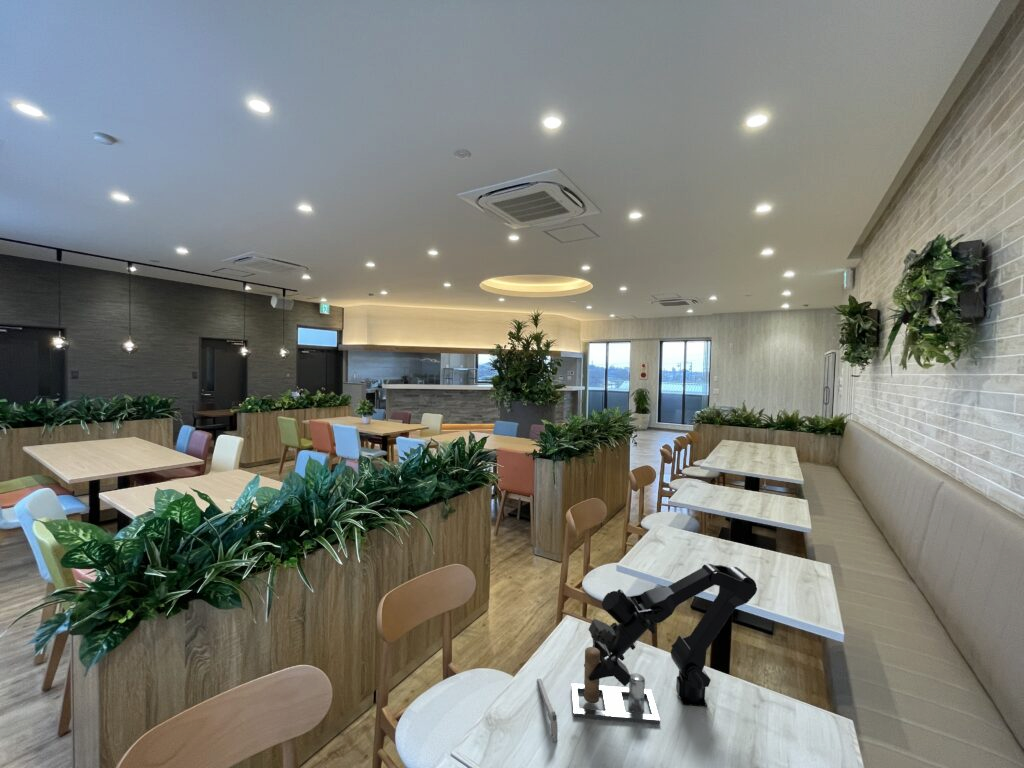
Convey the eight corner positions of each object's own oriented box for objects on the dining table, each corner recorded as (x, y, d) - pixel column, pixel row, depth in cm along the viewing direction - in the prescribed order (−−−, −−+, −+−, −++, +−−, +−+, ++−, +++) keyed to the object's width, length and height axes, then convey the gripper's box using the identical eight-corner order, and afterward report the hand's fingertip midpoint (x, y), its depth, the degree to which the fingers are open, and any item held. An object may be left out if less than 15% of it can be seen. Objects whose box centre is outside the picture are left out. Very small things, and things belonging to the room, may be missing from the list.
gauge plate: (650, 693, 119) (650, 689, 118) (659, 724, 109) (660, 720, 109) (571, 687, 120) (571, 683, 120) (573, 717, 110) (573, 712, 110)
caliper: (557, 743, 103) (558, 719, 103) (553, 744, 103) (553, 719, 103) (540, 680, 123) (540, 659, 123) (536, 680, 123) (537, 659, 123)
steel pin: (642, 701, 116) (643, 673, 115) (645, 713, 112) (646, 685, 111) (627, 700, 116) (628, 672, 116) (629, 712, 112) (630, 683, 112)
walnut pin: (594, 690, 117) (595, 645, 116) (601, 701, 114) (602, 655, 113) (581, 693, 116) (582, 648, 115) (587, 705, 112) (588, 658, 112)
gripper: (597, 593, 123) (559, 631, 123) (619, 635, 104) (574, 680, 104) (623, 617, 124) (585, 655, 124) (649, 664, 106) (605, 709, 105)
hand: (587, 673), depth 114 cm, fingers closed on walnut pin, 4 cm apart
